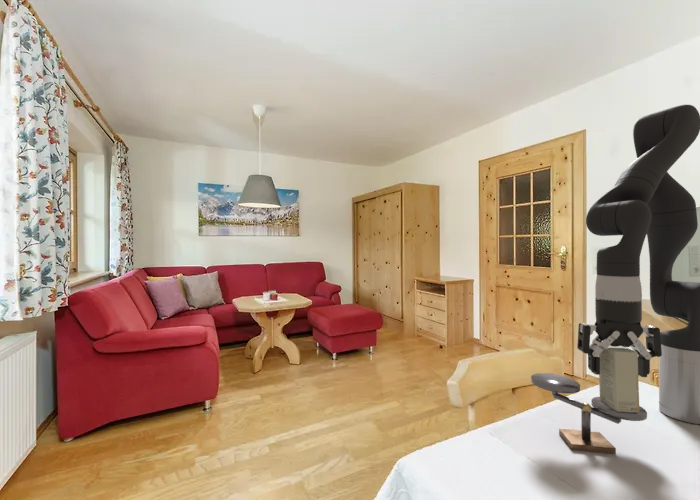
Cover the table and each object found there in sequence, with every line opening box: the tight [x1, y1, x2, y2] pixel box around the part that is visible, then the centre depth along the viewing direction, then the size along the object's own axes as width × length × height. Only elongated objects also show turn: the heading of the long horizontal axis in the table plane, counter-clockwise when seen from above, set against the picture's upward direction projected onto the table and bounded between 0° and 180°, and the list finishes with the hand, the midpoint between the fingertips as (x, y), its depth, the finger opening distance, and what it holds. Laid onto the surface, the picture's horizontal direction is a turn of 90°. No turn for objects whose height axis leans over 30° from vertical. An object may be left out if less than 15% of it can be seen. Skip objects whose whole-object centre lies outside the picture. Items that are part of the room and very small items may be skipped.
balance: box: [530, 372, 648, 455], centre depth 70 cm, size 21×9×13 cm, turn 79°
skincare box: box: [598, 346, 640, 413], centre depth 69 cm, size 6×4×12 cm
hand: (618, 374), depth 69 cm, fingers open, 8 cm apart
